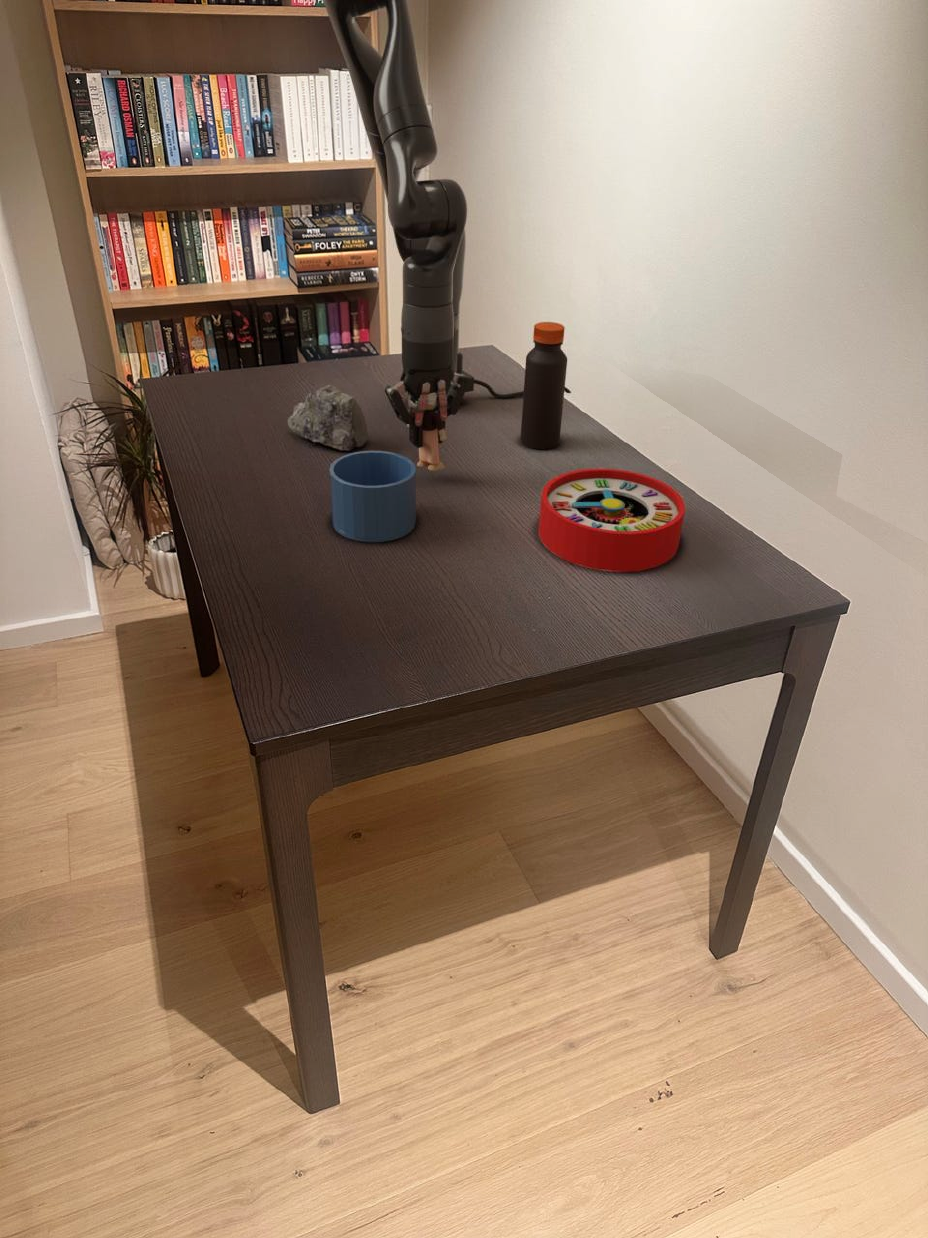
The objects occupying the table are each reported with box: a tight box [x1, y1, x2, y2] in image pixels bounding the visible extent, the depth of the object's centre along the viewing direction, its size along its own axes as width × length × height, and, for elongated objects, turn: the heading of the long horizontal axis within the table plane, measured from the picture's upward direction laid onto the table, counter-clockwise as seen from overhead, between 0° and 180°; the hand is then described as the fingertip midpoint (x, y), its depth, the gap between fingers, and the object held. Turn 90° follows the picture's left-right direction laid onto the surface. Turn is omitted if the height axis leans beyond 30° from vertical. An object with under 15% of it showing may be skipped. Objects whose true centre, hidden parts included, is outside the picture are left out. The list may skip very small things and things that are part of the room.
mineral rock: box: [287, 384, 369, 452], centre depth 153 cm, size 13×11×10 cm
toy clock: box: [538, 468, 686, 573], centre depth 129 cm, size 20×6×20 cm
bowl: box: [328, 450, 417, 543], centre depth 130 cm, size 12×12×8 cm
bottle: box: [519, 321, 568, 450], centre depth 152 cm, size 7×7×20 cm
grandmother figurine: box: [406, 393, 448, 472], centre depth 139 cm, size 8×4×13 cm, turn 62°
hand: (427, 443), depth 141 cm, fingers closed on grandmother figurine, 3 cm apart
